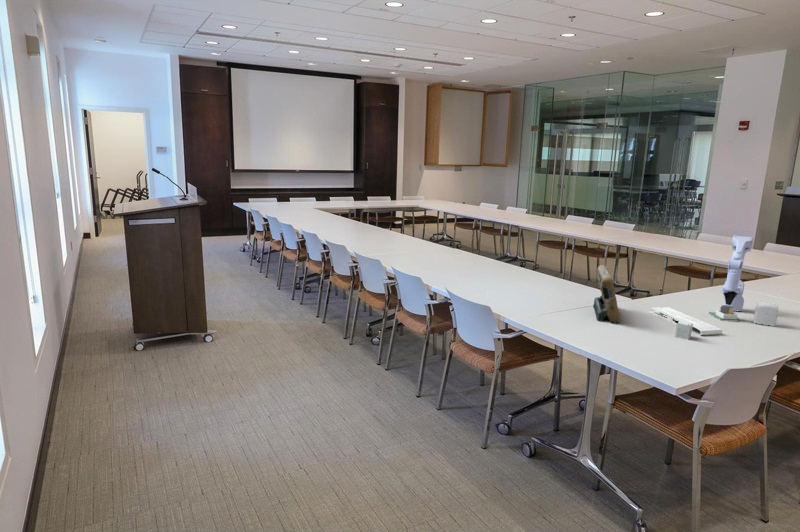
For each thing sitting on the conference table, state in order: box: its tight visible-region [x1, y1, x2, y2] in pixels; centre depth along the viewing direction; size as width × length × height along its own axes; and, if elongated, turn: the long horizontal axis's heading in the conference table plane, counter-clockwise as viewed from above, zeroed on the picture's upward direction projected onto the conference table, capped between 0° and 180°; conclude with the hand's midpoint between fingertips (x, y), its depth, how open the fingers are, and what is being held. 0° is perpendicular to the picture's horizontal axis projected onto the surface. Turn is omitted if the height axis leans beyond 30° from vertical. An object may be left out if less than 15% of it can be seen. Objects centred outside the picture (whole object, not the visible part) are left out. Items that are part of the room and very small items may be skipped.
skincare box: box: [674, 320, 694, 341], centre depth 258 cm, size 6×6×7 cm
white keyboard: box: [648, 306, 723, 336], centre depth 280 cm, size 12×4×40 cm
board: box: [708, 309, 742, 321], centre depth 293 cm, size 11×12×4 cm
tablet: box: [592, 264, 621, 324], centre depth 288 cm, size 33×14×25 cm, turn 169°
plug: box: [720, 304, 733, 314], centre depth 290 cm, size 4×4×6 cm
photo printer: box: [752, 301, 779, 327], centre depth 282 cm, size 10×4×12 cm, turn 66°
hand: (728, 304), depth 289 cm, fingers closed
